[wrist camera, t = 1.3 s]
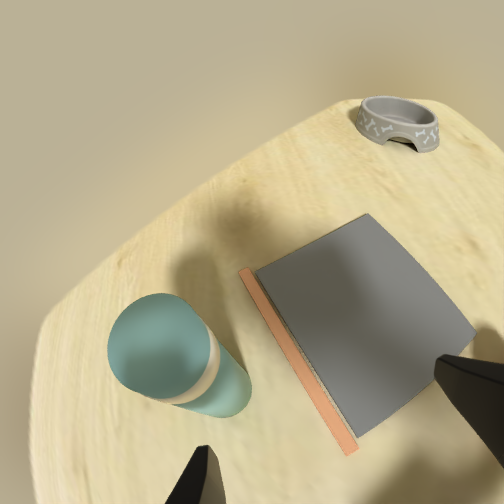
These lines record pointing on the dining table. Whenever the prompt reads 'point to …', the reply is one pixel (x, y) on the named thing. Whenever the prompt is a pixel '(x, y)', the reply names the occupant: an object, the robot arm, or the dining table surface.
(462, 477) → the dining table surface
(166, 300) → the teal cylinder
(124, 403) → the dining table surface
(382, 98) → the dog bowl
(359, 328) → the mat
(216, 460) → the robot arm
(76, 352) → the dining table surface
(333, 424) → the orange strip
